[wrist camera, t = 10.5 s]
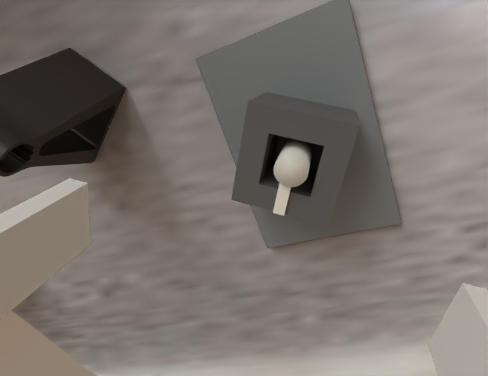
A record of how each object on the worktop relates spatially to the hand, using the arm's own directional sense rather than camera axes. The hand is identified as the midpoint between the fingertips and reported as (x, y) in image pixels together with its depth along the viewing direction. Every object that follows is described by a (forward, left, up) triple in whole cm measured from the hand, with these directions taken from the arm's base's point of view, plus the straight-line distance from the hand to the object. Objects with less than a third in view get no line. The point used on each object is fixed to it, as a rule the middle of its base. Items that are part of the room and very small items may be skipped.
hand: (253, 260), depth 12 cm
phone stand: (-9, -19, -19) cm, 28 cm away
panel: (0, 0, -18) cm, 18 cm away
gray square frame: (0, 0, -17) cm, 17 cm away
